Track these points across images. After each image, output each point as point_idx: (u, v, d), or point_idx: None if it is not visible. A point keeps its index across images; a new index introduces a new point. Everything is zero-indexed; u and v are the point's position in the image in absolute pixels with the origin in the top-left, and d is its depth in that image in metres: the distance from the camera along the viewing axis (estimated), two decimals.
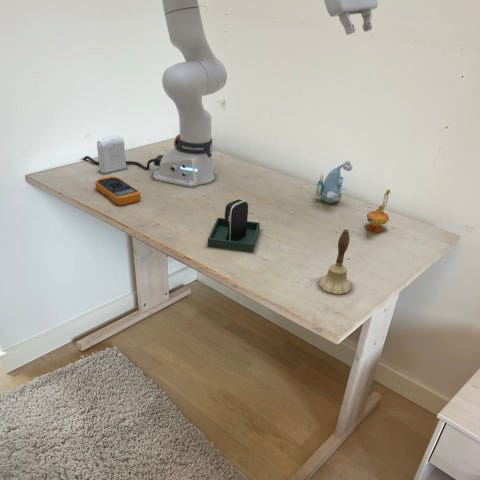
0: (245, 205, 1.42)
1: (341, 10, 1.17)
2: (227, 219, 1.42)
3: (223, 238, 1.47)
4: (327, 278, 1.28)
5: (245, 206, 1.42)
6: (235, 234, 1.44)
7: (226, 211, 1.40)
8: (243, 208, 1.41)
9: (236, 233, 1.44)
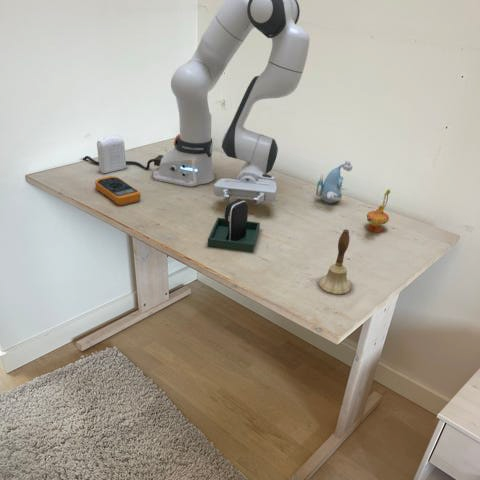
0: (245, 205, 1.42)
1: (273, 201, 1.56)
2: (227, 219, 1.42)
3: (223, 238, 1.47)
4: (327, 278, 1.28)
5: (245, 206, 1.42)
6: (235, 234, 1.44)
7: (226, 211, 1.40)
8: (243, 208, 1.41)
9: (236, 233, 1.44)
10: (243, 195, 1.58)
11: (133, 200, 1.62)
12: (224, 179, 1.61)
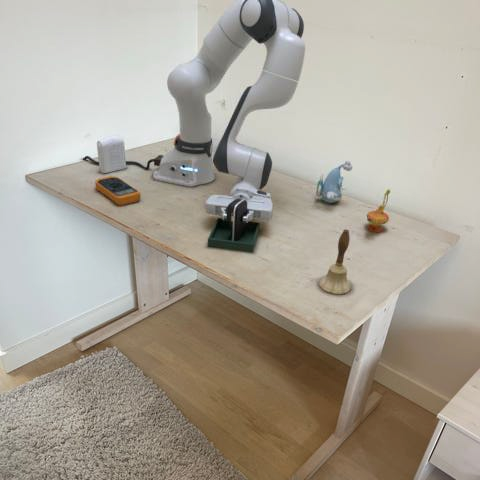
0: (245, 203, 1.42)
1: (268, 220, 1.47)
2: (230, 219, 1.41)
3: (223, 238, 1.47)
4: (327, 278, 1.28)
5: (245, 204, 1.43)
6: (238, 233, 1.45)
7: (229, 211, 1.40)
8: (244, 207, 1.42)
9: (238, 232, 1.45)
10: None
11: (133, 200, 1.62)
12: (216, 195, 1.51)
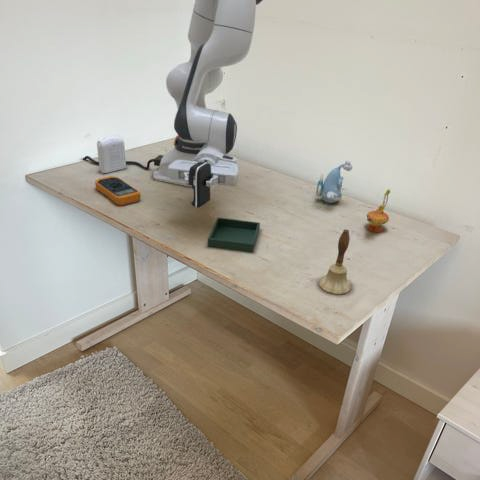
0: (208, 167, 1.36)
1: (234, 185, 1.40)
2: (192, 183, 1.35)
3: (223, 238, 1.47)
4: (327, 278, 1.28)
5: (208, 168, 1.36)
6: (201, 199, 1.38)
7: (190, 175, 1.34)
8: (207, 170, 1.35)
9: (202, 197, 1.38)
10: None
11: (133, 200, 1.62)
12: (180, 160, 1.44)
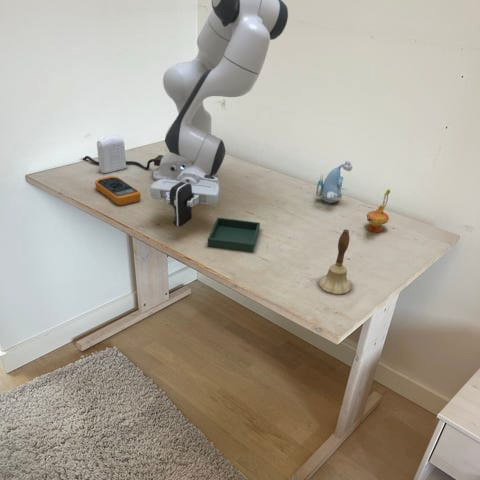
0: (189, 187, 1.39)
1: (215, 204, 1.44)
2: (173, 203, 1.38)
3: (223, 238, 1.47)
4: (327, 278, 1.28)
5: (189, 188, 1.39)
6: (182, 218, 1.41)
7: (171, 195, 1.37)
8: (187, 190, 1.39)
9: (183, 216, 1.41)
10: None
11: (133, 200, 1.62)
12: (163, 180, 1.48)
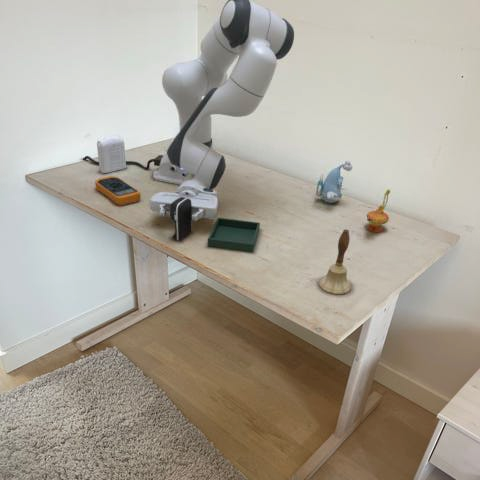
0: (189, 202, 1.42)
1: (213, 217, 1.46)
2: (173, 218, 1.41)
3: (223, 238, 1.47)
4: (327, 278, 1.28)
5: (189, 203, 1.42)
6: (182, 232, 1.44)
7: (171, 210, 1.39)
8: (187, 205, 1.41)
9: (183, 231, 1.44)
10: None
11: (133, 200, 1.62)
12: (162, 193, 1.50)
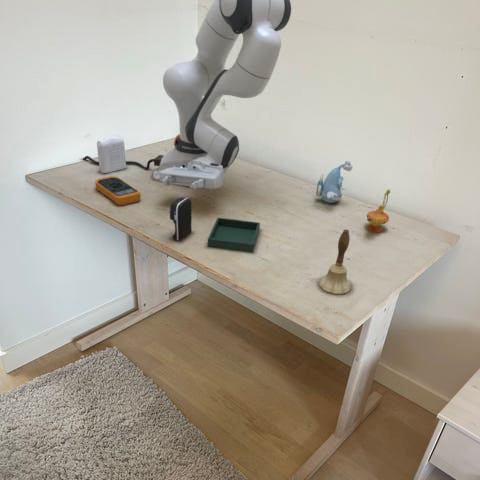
0: (189, 202, 1.42)
1: (213, 188, 1.52)
2: (173, 218, 1.41)
3: (223, 238, 1.47)
4: (327, 278, 1.28)
5: (189, 203, 1.42)
6: (182, 232, 1.44)
7: (171, 210, 1.39)
8: (187, 205, 1.41)
9: (183, 231, 1.44)
10: (186, 182, 1.55)
11: (133, 200, 1.62)
12: (173, 167, 1.60)
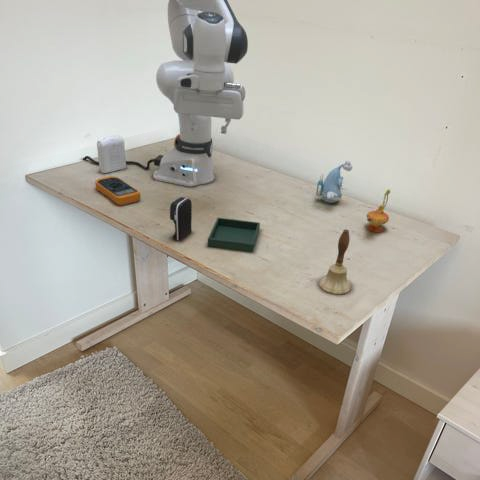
0: (189, 202, 1.42)
1: (176, 112, 1.44)
2: (173, 218, 1.41)
3: (223, 238, 1.47)
4: (327, 278, 1.28)
5: (189, 203, 1.42)
6: (182, 232, 1.44)
7: (171, 210, 1.39)
8: (187, 205, 1.41)
9: (183, 231, 1.44)
10: None
11: (133, 200, 1.62)
12: None
